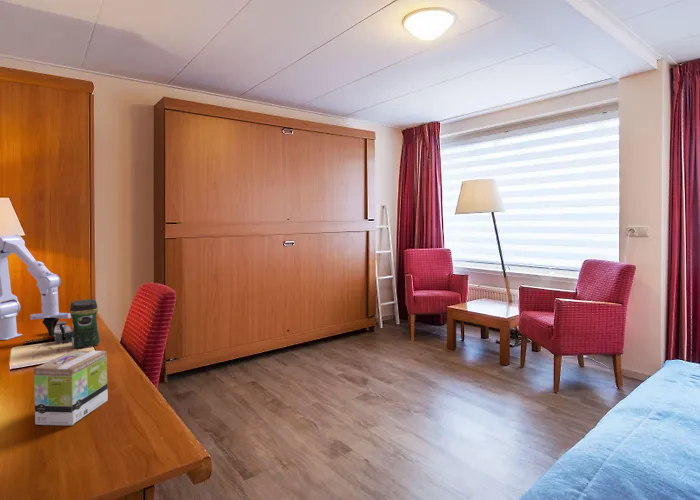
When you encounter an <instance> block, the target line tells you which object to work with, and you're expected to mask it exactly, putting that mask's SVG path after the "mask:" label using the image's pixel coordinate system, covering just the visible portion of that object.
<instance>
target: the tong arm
mask: <svg viewBox="0 0 700 500" xmlns="http://www.w3.org/2000/svg"><path fill="white" fill-rule="evenodd" d="M60 325H65V326H66V325H67V323H66V321H65V320H61V321H58V322H57V324H56V326H55V329H54V335H53V337H55V338H54V342H55V345H56V344H57V345H61V344H60V343H63V342H64V341H63V334H62V332H61V330H60ZM63 344H64V343H63Z"/></svg>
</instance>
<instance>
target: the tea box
mask: <svg viewBox="0 0 700 500" xmlns="http://www.w3.org/2000/svg"><path fill="white" fill-rule="evenodd" d="M33 382H34V383H33V384H34V385H33V386H34V387H33V389H34V390H33V393H34V421H35V422H34V423H35V424H34V425H40V426H74V425H75V424H76V423H77V422H79V421H80V420H81V419H83V418H84V417H86V416H87V415H88V414H90V413H91V412H93V411H94V410H96V409H98V408H99V407H100V406H102V405H103V404H106V402H107V401H108V400H109V399H108V397H109V395H108V392H109V390H108V355H107V351H105V350H72V351H69V352H66V353H65V354H63V355H61V356H59V357H56V358H54V359H52V360H49V361H48V362H45V363H43V364H41V365H38V366H36V367H34V368H33Z"/></svg>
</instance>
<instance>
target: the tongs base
mask: <svg viewBox="0 0 700 500" xmlns="http://www.w3.org/2000/svg"><path fill="white" fill-rule="evenodd" d="M60 330H61V332H62V335H63V337H64V336H65V337H64V339H65V342H66V343H69V342H70V343H72V329H71V327H70V325H66V324H65V325H60Z"/></svg>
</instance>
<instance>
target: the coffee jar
mask: <svg viewBox="0 0 700 500" xmlns="http://www.w3.org/2000/svg"><path fill="white" fill-rule="evenodd" d="M69 307H70V308H69V313H70V314H71V319H72V322H71V323H72V324H71V325H72V326H71V328H72V329H71V331H72V342H71V346H72V348H74V349H82V348H81V347H84V348H89V346H90V347H93V346H97V345H98V344H100V341H101V339H100V332H99V327H98V322H97V321H98V319H97V314H98V311H99V307H98V303H97V301H96V299H93V298H92V299H80V300H73V301H71V302H70V306H69Z"/></svg>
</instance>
